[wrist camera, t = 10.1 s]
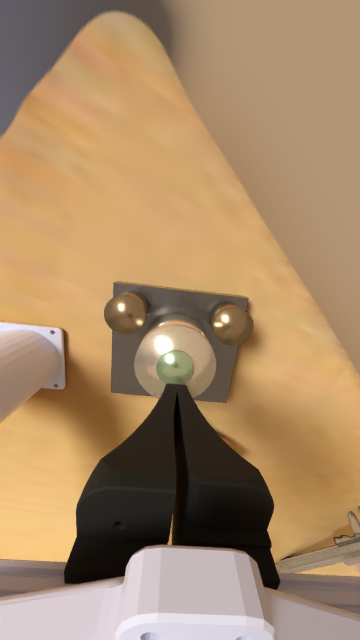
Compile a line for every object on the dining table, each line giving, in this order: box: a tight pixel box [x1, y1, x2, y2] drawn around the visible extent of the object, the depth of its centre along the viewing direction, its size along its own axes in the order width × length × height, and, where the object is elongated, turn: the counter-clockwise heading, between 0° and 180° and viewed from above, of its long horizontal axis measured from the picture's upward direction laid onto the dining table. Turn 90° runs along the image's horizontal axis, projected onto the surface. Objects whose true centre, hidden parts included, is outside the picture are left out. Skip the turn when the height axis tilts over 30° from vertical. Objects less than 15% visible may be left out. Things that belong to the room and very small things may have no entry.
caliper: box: [275, 507, 360, 573], centre depth 30 cm, size 20×1×6 cm, turn 142°
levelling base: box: [104, 281, 253, 403], centre depth 21 cm, size 17×25×7 cm
